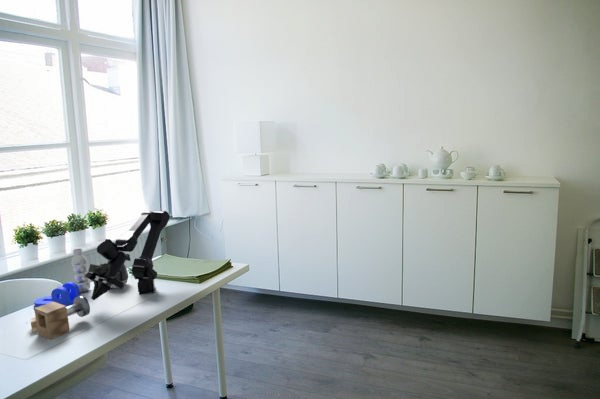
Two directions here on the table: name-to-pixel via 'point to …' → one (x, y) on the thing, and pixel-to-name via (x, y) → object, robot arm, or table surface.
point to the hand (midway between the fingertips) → (92, 299)
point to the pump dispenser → (122, 275)
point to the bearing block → (52, 320)
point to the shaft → (79, 307)
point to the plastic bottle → (80, 270)
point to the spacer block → (34, 324)
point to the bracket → (65, 293)
